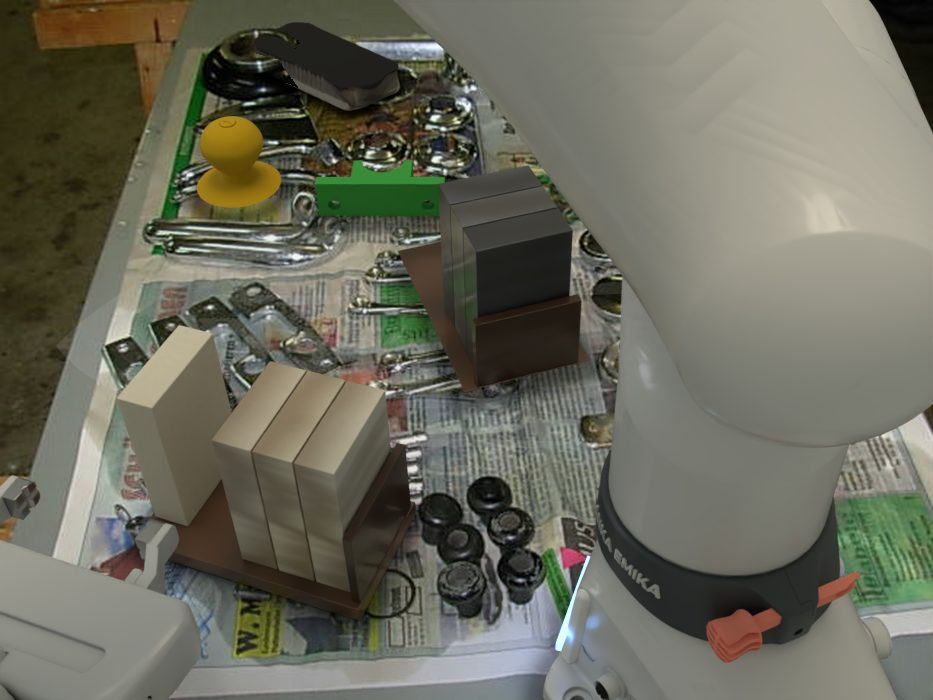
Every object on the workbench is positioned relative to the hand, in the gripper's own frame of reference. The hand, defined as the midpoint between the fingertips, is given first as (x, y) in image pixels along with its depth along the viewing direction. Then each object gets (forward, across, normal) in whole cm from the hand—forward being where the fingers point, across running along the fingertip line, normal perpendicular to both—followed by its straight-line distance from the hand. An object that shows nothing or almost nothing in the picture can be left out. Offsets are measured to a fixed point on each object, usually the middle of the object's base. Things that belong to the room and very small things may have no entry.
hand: (95, 506), depth 64 cm
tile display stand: (+8, -6, +9) cm, 13 cm away
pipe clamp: (+43, +1, +9) cm, 44 cm away
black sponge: (+63, +17, +9) cm, 66 cm away
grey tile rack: (+33, -12, +9) cm, 36 cm away
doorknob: (+42, +16, +9) cm, 45 cm away
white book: (+9, 0, +8) cm, 12 cm away
